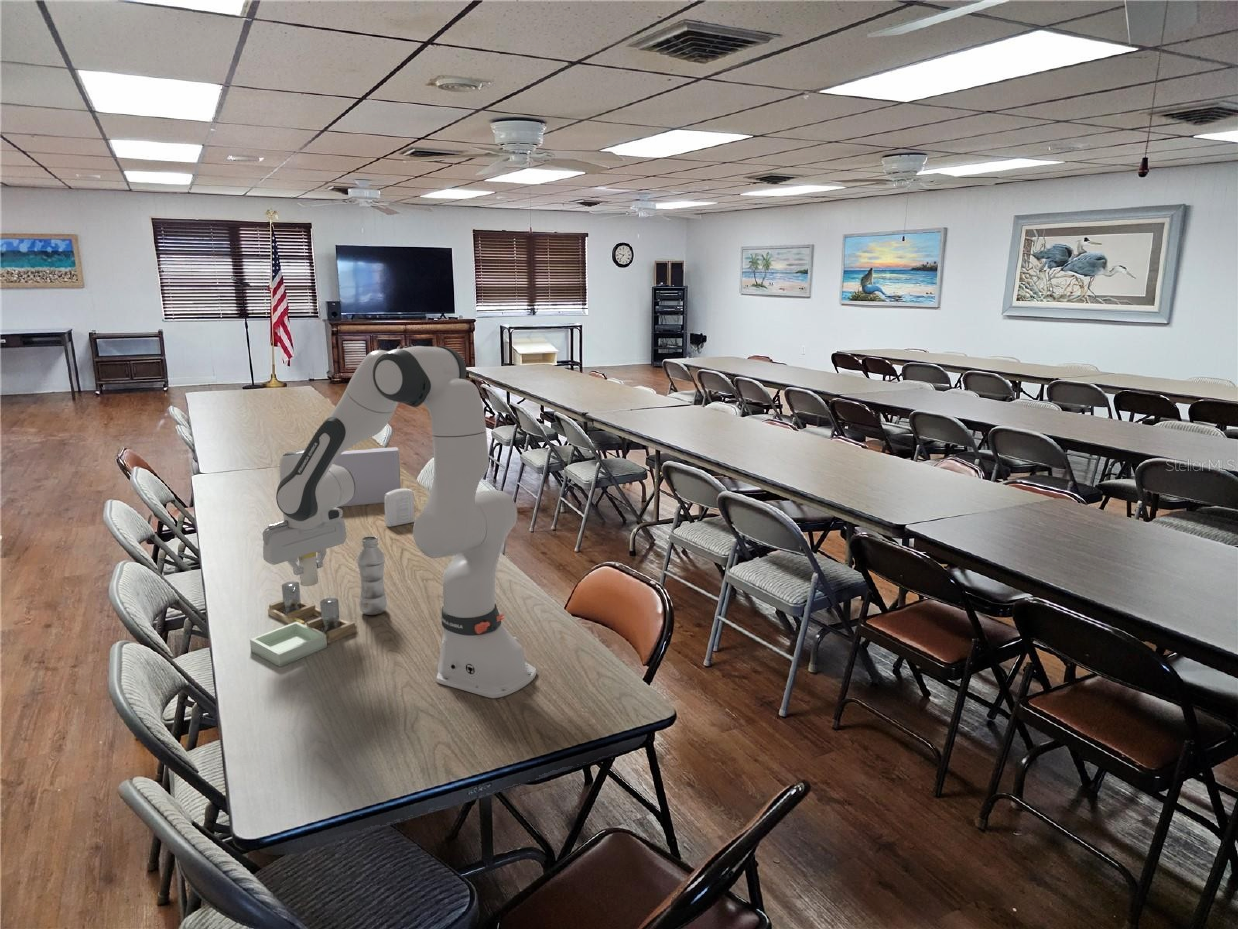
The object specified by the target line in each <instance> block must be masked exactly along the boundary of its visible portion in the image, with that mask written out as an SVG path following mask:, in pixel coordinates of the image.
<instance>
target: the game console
mask: <svg viewBox="0 0 1238 929" xmlns="http://www.w3.org/2000/svg"><path fill="white" fill-rule="evenodd" d="M400 462H401V461H400V449H399V448H398V446H394V447H380V448H377V447H376V448H375V447H374V448H370V449H369V448H368V449H356V450H353V449H352V450H345V451H344V452H342V453H341V454H340V455H339V456H338V457H337V458H336V459H335V461H334V462H333V464H335V465H337V466H343V467H345V468H346V469H347V470H349V472H350V473H351V474H352V476H353V478H354V481H355V494H354V496H353V498H352V499H351V500H350V501H349V502H347V503H345V504H343V505H341V506H338V507H337V508H340V507H350V506H352V507H353V506H361V505H374V504H381V503H382V504H385V503H384V496H385V494H386V493H388V492H390V491H392V490H396V489H402V488H401V467H400Z"/></svg>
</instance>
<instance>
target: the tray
mask: <svg viewBox="0 0 1238 929" xmlns="http://www.w3.org/2000/svg"><path fill="white" fill-rule="evenodd" d="M249 644H250V646H249V647H250V652H251V653H253V654H255V655H256V656H259V657H260V658H263V659H264V660H266V661H268V662H269V663H271V664H274V665H275V666H278V667H279V668H282V667H284V666H286V665H289V664H291V663H293V662H295V661H298V660H301V659H303V658H305V657H308V656H309V655H311V654H312V655H313V654H315V653H317V652H319V651H321V650H323V649H326V648H328V643H327V642H326V635H324V634H322V633H320V632H318V631H316V630H314V629H312V628H309V627H307V626H305V625H303V624H301V623H299V622H294V623H291V624H286V625H284V626H281V627H278V628H276V629H273V630H270V631H268V632H265V633H263V634H260V635H258V636H255V637H252V638H250V639H249Z"/></svg>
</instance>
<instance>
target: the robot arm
mask: <svg viewBox="0 0 1238 929" xmlns="http://www.w3.org/2000/svg"><path fill="white" fill-rule="evenodd" d="M466 365H467V364H466V361H465V360H464V357H463V356H462V355H461V354H460V353H459V352H458V351H457V350H455V349H453V348H451V347H448V346H443V345H437V346H436V345H435V346H422V345H416V346H415V345H414V346H408V347H404V348H395V349H391V350H383V349H376V350H373V351H370V352H369V353H368V354H366V356H365V357H364V358H363V359H362V361H361V362H360V364H359V365H358V366H357V368H356V369H355V371H354V373H353V375H352V376H351V378H350V380H349V382H348V384H347V386H346V388H345V390H344V392H343V395H342V396H341V398H340V399H339V401H338V403H337V404H336V406H335V407H334V409H333V410H332V412H331V413H330V414H329V415H328V417H327V418H326V419H325V420H324V421H323V422H322V424H321V425H320V426H319V427H318V429H317V430H316V432H314V434H313V435H312V438H311V439H310V441H309V443H308V444H307V446H306V447H305V448H302V449H299V450H298V449H297V450H292V451H288V452H286V453H284V454H283V455H281V458H280V462H279V483H278V486H277V489H276V492H275V493H276V496H275V500H276V504H277V507H278V509H279V510H280V511H281V513H282V516H283V521H279V522H277V523H273V524H269V525H267V527H265V528H264V530H263V531H262V542H263V543H262V544H263V546H262V554H263V555H262V557H263V561H264V562H265V563H268V564H270V565H273V566H275V565H279V564H283V563H286V562H287V563H288V564H289V565H290V566H291V567H292V572H293V575H295V576H300V574H303V571H302V570H303V567H301V566H299V564H297V563H299V561H298V558H299V557H302V556H305V555H307V554H310V553H314V552H316V560H317V570H318V569H321V568H324V562H323V561H324V560H325V556H326V554H327V549H330V548H333V547H337V546H340V545H344V544H345V542H346V540H347V539H348V538H347V528H346V527H347V526H346V522H345V519H343V518H342V517H343V514H344V513H343V509H341V508H340V507H338V506H341V505H343V504H345V503H347V502H349V501H350V500H351V499H352V498H353V496H354V494H355V481H354V478H353V476H352V474H351V473H350V472H349V470H347V469H346V468H345V467H343V466H337V465H335V464H333V462H334V461H335V459H336V458H337V457H338V456H339V455H340V454H341V453H342V452H344V451H348V449H350V448H351V447H353V446H355V445H357V444H359V443H361V442H364V441H365V440H368V439H370V438H372V437H375V436H376V435H379V433H381V432H382V431H383V429H384V428H385V427H386V426H387V424H389V422H390V420H391V419H392V418H393V416H394V414H395V411H396V409H397V407H398V405H399V404H405V405H407V406H409V407H412V408H418V407H419V406H421V405H423V406H424V407H425V408H426V409H427V410H428V413H429V416H430V422H431V423H430V425H431V436H432V437H431V438H432V448H433V449H432V450H433V465H434V466H433V467H434V468H433V469H434V470H433V480H432V484H431V485H432V486H431V487H430V488H431V489H430V492H429V495H428V498H427V501H426V502H425V503H426V504H425V506H424V507H423V508H422V510H421V512H420V514H418V516H417V517H415V521H414V522H413V523H414V524H413V527H412V534H413V536H412V537H413V542H414V543H415V545H416V547H417V549H419V552H421V553H422V554H423V555H424V556H426V557H427V558H430V559H440V558H441V559H442V558H449V557H452V559H451V561H450V562H449V563H448V565H447V566H446V567H445V569H444V571H443V575H442V608H441V612H440V613H441V614H440V619H441V626H442V628H443V629H442V630H443V631H442V638H441V643H440V650H439V651H440V653H439V660H438V664H437V671H438V672H437V674H436V682H437V683H438V684H439V685H440V684H441V685H443V686H446V687H447V686H448V687H451V688H453V689H454V688H455V689H458V690H462V691H466V692H469V693H472V694H475V695H479V696H481V697H482V696H483V697H486V698H489V699H498V698H503V697H506V696H509V695H511V694H513V693H515V692H517V691H519V690H521V689H523V688H524V687H526V686H527V685H529V684H530V683H531V682H532V681H533V680H534V679H535V677H537V676H536V675H537V668H536V667H535V666H534V665H531V664H530V663H529V662H527V661H526V656H525V652H524V651H525V650H524V648H523V646H522V645H521V644H520V642H519V639H518V638H517V637H516V636H513V635H512V634H511V633H510V631H508V629H507V628H506V627H505V626H504V625H503V624H502V620H504V619H505V617H504V616H505V613H502V614H500V612H499V608H498V606H497V604H496V602H495V600H496V592H495V591H496V590H495V589H496V572H497V567H498V563H499V558H500V556H501V552H502V549H503V546H504V544H505V542H506V539H507V537H508V535H509V534H510V532H511V531H512V529H513V528H514V526H516V523H517V519H518V508H517V505H516V502H515V501H514V499H513V498H512V496H510V495H509V494H508V493H507V492H506V491H502V490H498V489H497V490H496V489H495V490H493V489H492V490H491V489H489V490H482V491H478V487H479V484H480V482H481V480H482V479H483V478H484V476H485V475H486V473H487V471H488V469H489V466H490V460H489V459H490V458H489V457H490V456H489V448H488V447H489V446H488V436H487V424H486V416H485V411H484V406H483V402H482V398H481V395H480V392H479V388H478V387H477V385H476V384H474V382H472V381H471V380H467V366H466Z"/></svg>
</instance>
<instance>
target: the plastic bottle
mask: <svg viewBox="0 0 1238 929" xmlns="http://www.w3.org/2000/svg"><path fill="white" fill-rule="evenodd" d="M378 539H379V538H378V537H377V536H375V535H369V536H368V535H367V536H364V537H362V539H361V547H362V549H361V551H359V554H358V555H357V559H356V560H357V565H358V571H359V578H360V596H359V601H358V602H359V604H358V606H359V610H360V611H361V613H362V614H364V615H368V616H375V615H379V614H383V613H384V611H385V610H386V609H387V603H388V601H387V600H388V599H387V596H386V592H385V585H384V568H385V562H386V561H385V560H386V557H385V554H384V552H383V551H382V550H381V549H380V547H379V540H378Z"/></svg>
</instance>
